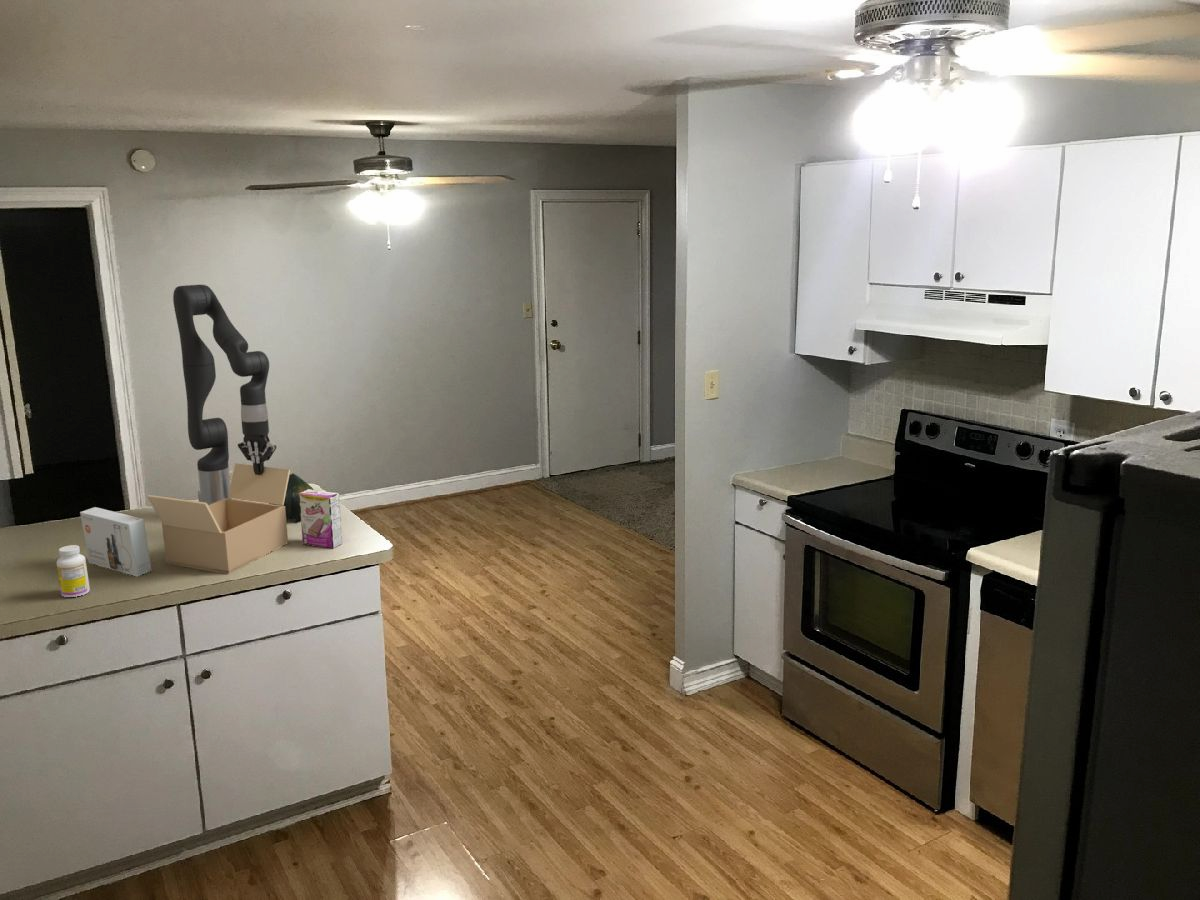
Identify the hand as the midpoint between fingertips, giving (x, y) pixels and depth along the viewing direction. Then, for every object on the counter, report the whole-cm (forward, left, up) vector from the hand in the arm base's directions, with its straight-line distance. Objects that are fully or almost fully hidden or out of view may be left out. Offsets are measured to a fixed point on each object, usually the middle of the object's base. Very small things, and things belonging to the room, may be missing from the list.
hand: (259, 474), depth 286 cm
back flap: (0, 0, -3) cm, 3 cm away
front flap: (0, -30, -3) cm, 31 cm away
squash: (-3, +19, -20) cm, 28 cm away
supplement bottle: (-17, -53, -20) cm, 60 cm away
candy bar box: (+21, +1, -20) cm, 29 cm away
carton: (0, -15, -20) cm, 25 cm away
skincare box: (-21, -35, -20) cm, 46 cm away
